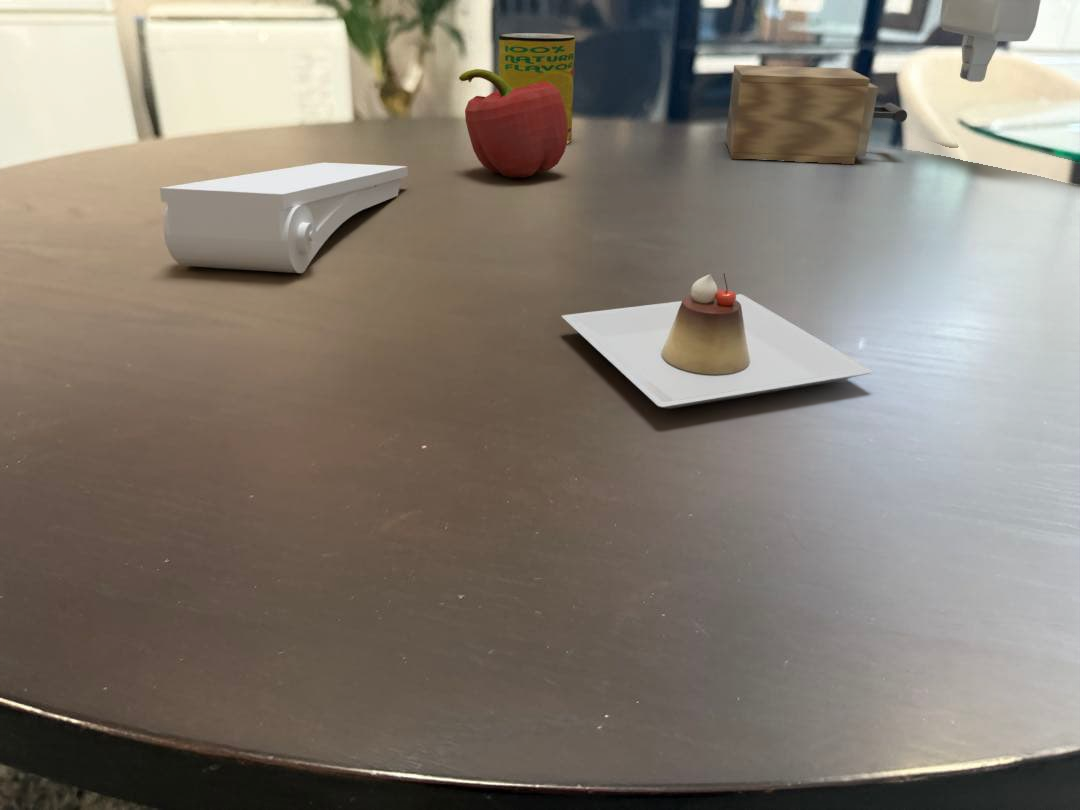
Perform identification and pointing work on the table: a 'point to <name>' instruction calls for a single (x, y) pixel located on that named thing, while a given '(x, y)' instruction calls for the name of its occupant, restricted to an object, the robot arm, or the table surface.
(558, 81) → the beverage can
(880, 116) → the drawer
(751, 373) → the dessert
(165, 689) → the table surface
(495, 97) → the vegetable
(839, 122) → the cabinet
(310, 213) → the wall bracket
